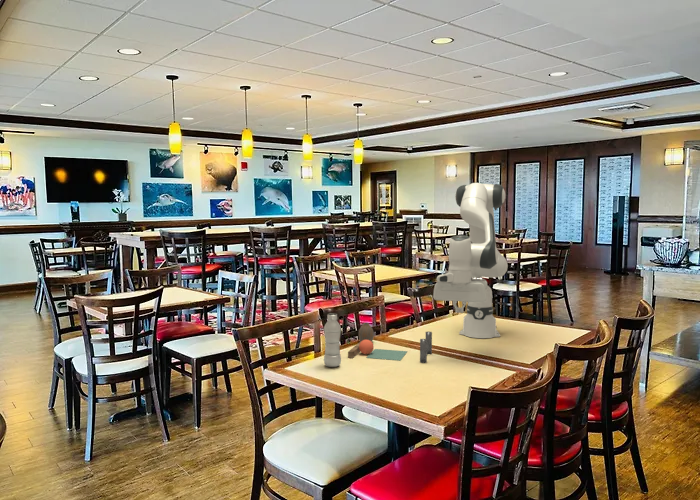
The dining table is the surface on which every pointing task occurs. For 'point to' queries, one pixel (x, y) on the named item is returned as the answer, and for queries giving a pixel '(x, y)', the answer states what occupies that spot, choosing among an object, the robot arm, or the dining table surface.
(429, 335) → the post
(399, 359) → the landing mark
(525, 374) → the dining table surface
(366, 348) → the ball
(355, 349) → the wall
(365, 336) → the vase
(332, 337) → the plastic bottle
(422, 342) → the post
